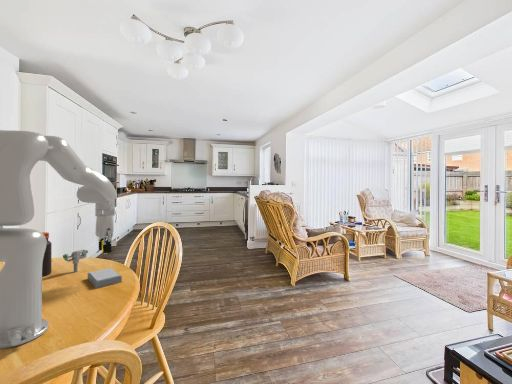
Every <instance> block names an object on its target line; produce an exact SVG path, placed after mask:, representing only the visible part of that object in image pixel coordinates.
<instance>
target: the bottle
mask: <svg viewBox="0 0 512 384" xmlns="http://www.w3.org/2000/svg"><path fill="white" fill-rule="evenodd" d="M42 233H43V234H44V236H45V237H46V240H47V244H46V249H45V253H44V257H43V264H42V277H46V276H49V275H50V274H51V273H52V242H51V241H50V240H49V238H50V233H49V232H47V231H46V232H42Z"/></svg>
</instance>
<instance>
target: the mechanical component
mask: <svg viewBox="0 0 512 384" xmlns="http://www.w3.org/2000/svg"><path fill="white" fill-rule="evenodd" d="M88 253H89V250H88V249H81V250H76V251H72V252H71V254H70V255H69V254H68V253H64V254H63V255H62V258H63V260H64V261H66V262H72V264H73V272H74V273H78V269H79V267H78V265H79V262H80V260H82V259H86V257H87V254H88Z"/></svg>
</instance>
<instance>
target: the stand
mask: <svg viewBox="0 0 512 384" xmlns="http://www.w3.org/2000/svg"><path fill="white" fill-rule="evenodd" d="M87 281H89V282H90V283H91V284H92V286H94V288H95V289H100V288H104V287H107V286H111V285H114V284H119V283H122V281H123V277H122V275H121V274H120V273H118V271H116V270H115V269H113V268H112V267H109V268H105V269H99V270H95V271H90V272H88V273H87Z"/></svg>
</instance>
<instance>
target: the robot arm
mask: <svg viewBox="0 0 512 384" xmlns="http://www.w3.org/2000/svg"><path fill="white" fill-rule="evenodd" d="M39 161H40V162H42V161H44V162H47V164H48V165H50V167H52V168H53V170H55V172H56V173H57V174H58V175H59V176H60V177H61V178H62V179H63V180H66V181H68V182H71V183H73V184H78V185H81V187H79V188H78V189H77V191H76V197H77V199H78V201H80V202H82V203H87V204H95V212H94V214H95V217H96V218H95V219H96V220H95V233H94V234H95V236H96V237H97V238H98V251H102V241H103V240H104V245H103V253H102V254H104V255H106V254H105V253H108V254H109V253H112V238H113V237H114V219H113V218H114V217H113V216H115V212H116V206H115V205H116V199H117V189H116V188H115V186H114V185H113V183H112V182H111V181H110V179H109V178H108V177H107V176H105V175H104V174H102V173H100V172H98V171H97V170H95V169H93V168H91V167H90V166H87V165H86V164H85V163H84V161H82V159H81V158H80V157H79V156H78V154H77V153H76V152H75V150H74V149H73V148H72V147H71V145H70V144H69V143H68V142H67V140H65V139H64V138H63V137H60V136H55V135H43V134H40V133H39V132H35V131H30V130H29V131H28V130H27V131H26V130H4V129H3V130H1V129H0V263H1V262H2V263H4V265H3V267H2V268H1V270H0V349H7V348H13V347H16V346H20V345H23V344H26V343H28V342H31V341H33V340H35V339H37V338H38V337H40V336H41V335H43V334H44V333H45V332H47V330H48V329H49V321H48V320H46V319H43V276H42V264H43V257H44V253H45V249H46V244H47V240H46V237H45V236H44V234H43V232H41V231H39V230H37V229H33V228H25V227H24V228H21V227H20V228H19V226H23V225H26V224H28V223H30V222H31V221H32V220H33V219H34V217H35V206H34V199H33V198H34V197H33V193H32V192H33V191H32V185H31V173H32V170H33V168H34V167H35V165H36V164H37V163H38V162H39ZM11 226H12V227H11ZM13 226H14V227H13ZM17 226H18V227H17Z"/></svg>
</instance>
